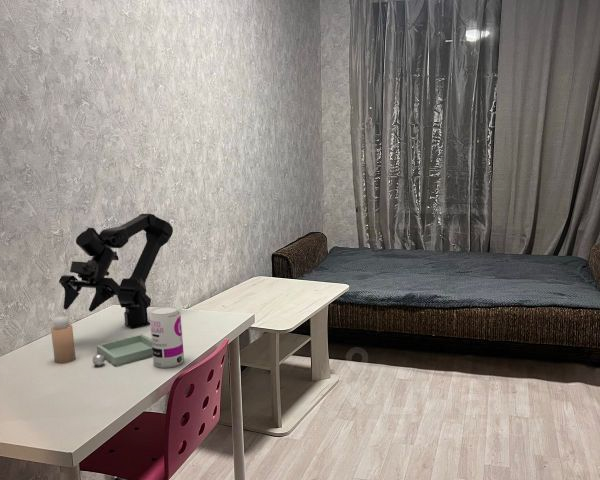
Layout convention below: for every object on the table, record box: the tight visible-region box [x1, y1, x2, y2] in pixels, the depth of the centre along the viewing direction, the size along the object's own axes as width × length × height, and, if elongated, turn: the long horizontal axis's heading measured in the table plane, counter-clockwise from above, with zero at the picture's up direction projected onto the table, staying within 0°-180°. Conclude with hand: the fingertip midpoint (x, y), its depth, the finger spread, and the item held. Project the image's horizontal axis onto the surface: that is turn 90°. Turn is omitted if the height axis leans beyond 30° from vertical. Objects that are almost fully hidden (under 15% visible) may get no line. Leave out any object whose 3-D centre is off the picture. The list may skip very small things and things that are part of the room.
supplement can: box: [149, 306, 185, 369], centre depth 165 cm, size 8×8×15 cm
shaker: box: [50, 314, 77, 364], centre depth 171 cm, size 6×6×12 cm
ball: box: [92, 354, 106, 367], centre depth 167 cm, size 3×3×3 cm
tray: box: [96, 333, 153, 367], centre depth 175 cm, size 14×14×2 cm
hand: (77, 310), depth 176 cm, fingers open, 9 cm apart
